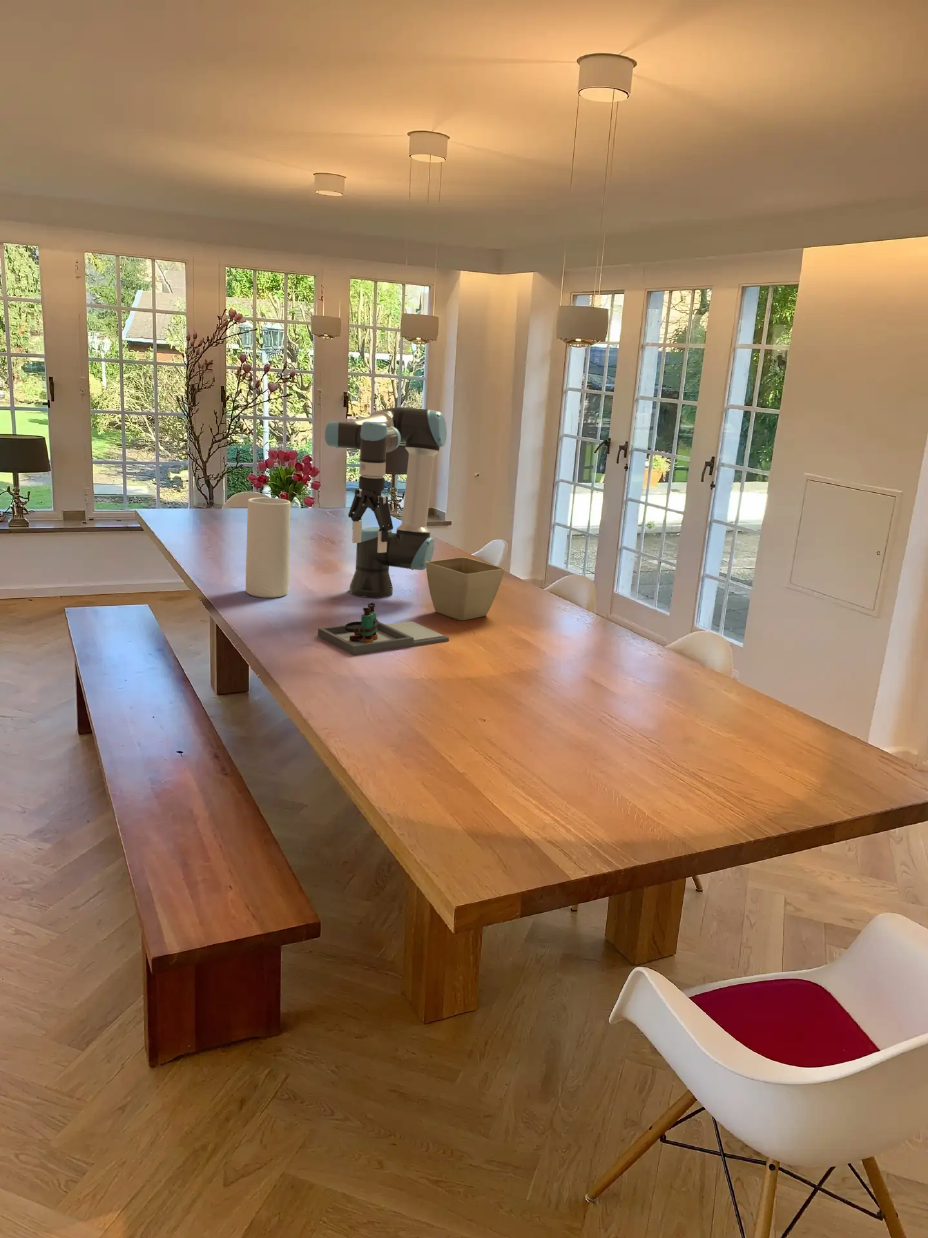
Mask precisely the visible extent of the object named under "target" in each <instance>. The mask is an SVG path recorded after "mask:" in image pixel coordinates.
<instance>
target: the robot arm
mask: <svg viewBox="0 0 928 1238" xmlns="http://www.w3.org/2000/svg"><path fill="white" fill-rule="evenodd" d="M447 431H448V430H447V423H446V418H445V416H444V414H443V413H442V412H441V411H439V410H433V409H424V408H415V407H414V408H411V407H404V406H401V407H400V406H398V407H397V406H396V407H390V408H384V409H380V410H376V411H373V412H372V413H370V414H369V416H366V417H361V418H358V419H354V420H350V421H345V422H344V421H343V422H341V421H329V422H328V423H327V424H326V426H325V428H324V441H325V443H326V445H327V446H328V447H331V448H332V447H333V448H336V449H338V448H341V449H350V450H351V449H352V450H358V451H359V474H360V476H359V477H358V488H355V490H354V497H353V499H352V503H351V506H350V508H349V512H348V514H347V517H348V518H350V519H351V521H352V529H351V530H352V539H351V540H352V541H351V543H353V544H355V543H356V552H355V553H356V556H355V570H354V574H353V576H352V578H351V582H350V583H349V593H350V594H351V595H354V596H357V597H363V598H370V599H371V598H372V599H377V598H378V599H380V598H382V599H383V598H388V597H390V596H392V595H393V591H394V589H393V588H394V587H393V583H392V580H391V576H390V567H391V568H392V567H393V568H401V569H409V570H411V571H414V570H415V571H417V570H418V571H423V570H426V562H428V561H432V558H433V555H434V551H435V546H436V545H435V539H434V538H433V537H432V536H431V531H430V530H429V528H428V525H427V524H428V515H429V507H430V496H431V488H432V479H433V471H434V470H433V469H434V463H435V462H434V461H435V456H436V455H438V453H440V448H442V447H444V446H445V445H446V441H447V435H448V434H447V433H448V432H447ZM401 443H404V444H405V450H406V451H407V452H408V461H407V470H406V479H405V480H406V481H405V489H404V501H403V508H402V518H401V523H400V525H399V526H398V527H396V531H395V532H393V529H394V525H393V520H392V515H391V511H390V507H389V497H388V495H382V491H384V490H385V489H386V488H385V487H386V486H385V485H386V484H385V482H386V479H385V476H386V467H387V465H386V463H387V460H386V458H387V453H391V452H394V451H395V450H396V449H397V448H398V447H399V446H400V445H401ZM368 508H369V510H370V511H372V512H373V514H374V517H375V519H376V521H377V522H376V523H377V525H378V526H371V527H365V528H362V527H363V521H362V520H363V519H362V518H363V516H364V514H365V512H366V510H367V509H368Z"/></svg>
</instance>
